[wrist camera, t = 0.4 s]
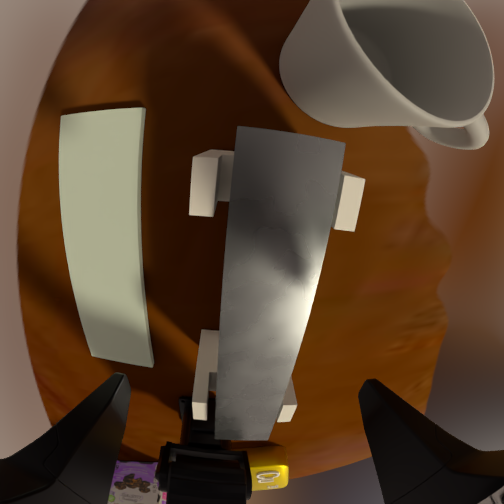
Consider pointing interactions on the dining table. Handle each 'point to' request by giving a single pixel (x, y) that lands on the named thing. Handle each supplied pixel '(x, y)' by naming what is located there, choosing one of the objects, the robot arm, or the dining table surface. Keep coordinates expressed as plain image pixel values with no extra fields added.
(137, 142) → the mat
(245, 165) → the rail
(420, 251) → the dining table surface
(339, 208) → the rack
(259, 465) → the element tile
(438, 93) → the mug
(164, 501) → the candy box
